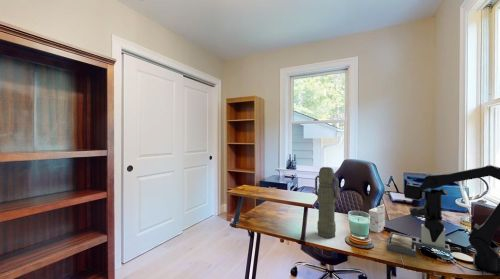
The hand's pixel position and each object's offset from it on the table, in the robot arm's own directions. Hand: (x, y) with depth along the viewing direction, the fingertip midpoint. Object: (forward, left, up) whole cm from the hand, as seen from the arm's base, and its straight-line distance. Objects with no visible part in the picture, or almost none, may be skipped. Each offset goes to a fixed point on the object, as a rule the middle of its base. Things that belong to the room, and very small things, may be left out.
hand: (433, 238), depth 97 cm
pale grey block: (0, 0, -5) cm, 5 cm away
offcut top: (+11, +9, -1) cm, 14 cm away
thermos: (+43, +12, -6) cm, 45 cm away
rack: (+5, +4, -6) cm, 9 cm away
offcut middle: (+11, +9, -3) cm, 15 cm away
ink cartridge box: (+23, -9, -6) cm, 26 cm away
